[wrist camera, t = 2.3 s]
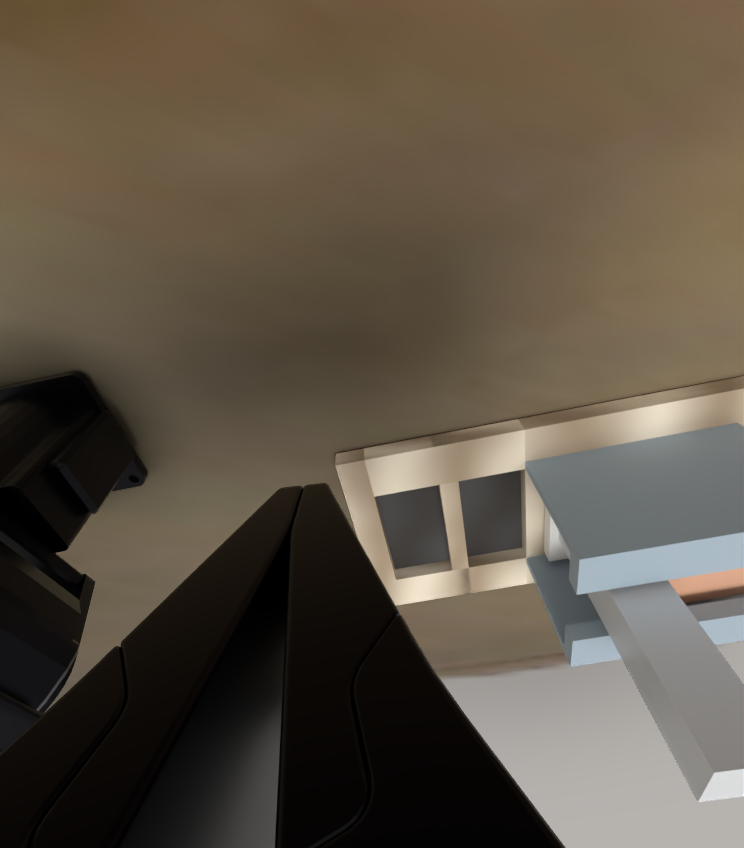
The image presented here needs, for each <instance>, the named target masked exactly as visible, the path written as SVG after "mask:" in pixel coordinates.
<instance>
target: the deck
mask: <svg viewBox="0 0 744 848" xmlns="http://www.w3.org/2000/svg"><path fill="white" fill-rule="evenodd" d="M733 423H739V424H740V425H742V426H743V427H744V376H741V377H736V378H731V379H725V380H720V381H715V382H710V383H704V384H699V385H694V386H689V387H683V388H678V389H673V390H668V391H662V392H657V393H652V394H647V395H641V396H636V397H631V398H626V399H620V400H615V401H610V402H605V403H600V404H594V405H589V406H584V407H579V408H573V409H568V410H563V411H558V412H552V413H547V414H542V415H537V416H531V417H526V418H521V419H516V420H510V421H505V422H500V423H495V424H489V425H484V426H479V427H474V428H468V429H463V430H458V431H453V432H447V433H442V434H437V435H432V436H426V437H421V438H416V439H411V440H406V441H400V442H395V443H390V444H385V445H379V446H374V447H369V448H364V449H358V450H353V451H348V452H343V453H337V454H336V458H335V467H336V470H337V473H338V476H339V479H340V483H341V486H342V489H343V492H344V495H345V498H346V502H347V505H348V508H349V511H350V514H351V518H352V521H353V524H354V527H355V530H356V534H357V537H358V539H359V541H360V543H361V545H362V547H363V548H364V550H365V552H366V554H367V556H368V557H369V559H370V561H371V563H372V564H373V566H374V568H375V570H376V572H377V573H378V575H379V577H380V579H381V581H382V582H383V584H384V586H385V588H386V590H387V591H388V593H389V595H390V597H391V598H392V600H393V602H394V604H395V606H396V605H402V604H408V603H414V602H420V601H426V600H432V599H438V598H444V597H450V596H456V595H462V594H468V593H474V592H481V591H487V590H493V589H499V588H505V587H511V586H517V585H523V584H529V583H535V582H534V580H533V577H532V575H531V573H530V570H529V568H528V565H527V558H529V557H535V556H541V555H546V554H545V552H544V519H545V504H544V503H543V501H542V499H541V497H540V495H539V493H538V492H537V490H536V488H535V486H534V484H533V482H532V480H531V479H530V477H529V475H528V473H527V471H526V469H525V462H526V461H531V460H537V459H542V458H548V457H553V456H559V455H564V454H569V453H575V452H580V451H586V450H591V449H597V448H602V447H607V446H613V445H618V444H624V443H629V442H635V441H640V440H646V439H651V438H656V437H662V436H667V435H673V434H678V433H684V432H689V431H694V430H700V429H705V428H711V427H716V426H722V425H727V424H733Z"/></svg>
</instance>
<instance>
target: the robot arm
mask: <svg viewBox="0 0 744 848" xmlns="http://www.w3.org/2000/svg"><path fill="white" fill-rule="evenodd" d="M72 380H74V381H76V382H77V383H78V384H79V385H80V386H77V385H75V384H74V383H73V381H72ZM133 475H135V476H137V477H138V478H136V477H134V476H133ZM146 478H147V473H146V471H145V469H144V468H143V466H142V464H141V463H140V461H139V460H138V458H137V456H136V455H135V452H134V450H133V449H132V447H131V445H130V444H129V442H128V441H127V439H126V437H125V436H124V434H123V433H122V431H121V429H120V428H119V426H118V424H117V423H116V421H115V420H114V418H113V416H112V415H111V414H110V413H109V411H108V409H107V408H106V406H105V405H104V403H103V401H102V400H101V398H100V397H99V395H98V393H97V392H96V390H95V388H94V387H93V385H92V384H91V382H90V380H89V379H88V378H87V377H86V376H85V375H84V374H82V373H80V372H77V371H74V372H68V373H63V374H58V375H54V376H49V377H44V378H39V379H35V380H30V381H25V382H21V383H16V384H11V385H6V386H2V387H0V848H565V846H564V845H563V844H562V843H561V841H560V840H559V839H558V837H557V836H556V835H555V833H554V832H553V831H552V829H551V828H550V827H549V825H548V824H547V823H546V821H545V820H544V819H543V817H542V816H541V815H540V813H539V812H538V811H537V809H536V808H535V807H534V805H533V804H532V803H531V801H530V800H529V799H528V797H527V796H526V795H525V793H524V792H523V791H522V790H521V788H520V787H519V785H518V784H517V783H516V781H515V780H514V779H513V778H512V776H511V775H510V774H509V772H508V771H507V770H506V768H505V767H504V766H503V764H502V763H501V762H500V760H499V759H498V758H497V756H496V755H495V754H494V752H493V751H492V750H491V748H490V747H489V746H488V744H487V743H486V742H485V741H484V739H483V738H482V736H481V735H480V734H479V732H478V731H477V730H476V728H475V727H474V726H473V725H472V723H471V722H470V721H469V719H468V718H467V717H466V715H465V714H464V712H463V711H462V710H461V708H460V707H459V705H458V704H457V702H456V701H455V700H454V698H453V697H452V695H451V694H450V692H449V691H448V690H447V688H446V687H445V685H444V684H443V683H442V681H441V680H440V678H439V677H438V675H437V674H436V672H435V671H434V669H433V668H432V666H431V664H430V663H429V661H428V659H427V658H426V656H425V654H424V653H423V651H422V650H421V648H420V646H419V645H418V643H417V641H416V640H415V638H414V636H413V635H412V633H411V631H410V629H409V627H408V626H407V624H406V622H405V620H404V619H403V617H402V616H401V615H400V613H399V611H398V609H397V607H396V606H395V604H394V602H393V600H392V598H391V597H390V595H389V593H388V591H387V590H386V588H385V586H384V584H383V582H382V581H381V579H380V577H379V575H378V573H377V572H376V570H375V568H374V566H373V564H372V563H371V561H370V559H369V557H368V556H367V554H366V552H365V550H364V548H363V547H362V545H361V543H360V541H359V539H358V538H357V536H356V534H355V532H354V531H353V529H352V527H351V525H350V523H349V522H348V520H347V518H346V516H345V514H344V513H343V511H342V509H341V507H340V505H339V504H338V502H337V500H336V498H335V497H334V495H333V493H332V491H331V489H330V488H329V486H328V485H327V484H326V483H320V484H311V485H306V486H305V487H304V488H303V487H301V486H293V487H284V488H280V489H279V490H277V491H276V492H275V493H274V494H273V495H272V496H271V497H270V498H269V499H268V500H267V501H266V502H265V503H264V504H263V505H262V506H261V507H260V508H259V509H258V510H257V511H256V512H255V513H254V514H253V515H252V516H251V517H250V518H249V519H248V520H246V521H245V522H244V523H243V524H242V525H241V526H240V527H239V528H238V529H237V530H236V531H235V532H234V533H233V534H232V535H231V536H230V537H229V538H228V539H227V540H226V541H225V542H224V543H223V544H222V545H221V546H220V547H219V548H218V549H217V550H216V551H215V552H213V553H212V554H211V555H210V556H209V557H208V558H207V559H206V560H205V561H204V562H203V563H202V564H201V565H200V566H199V567H198V568H197V569H196V570H195V571H194V572H193V573H192V574H191V575H190V576H189V577H188V578H187V579H186V580H185V581H184V582H183V583H182V584H180V585H179V586H178V587H177V588H176V589H175V590H174V591H173V592H172V593H171V594H170V595H169V596H168V597H167V598H166V599H165V600H164V601H163V602H162V603H161V604H160V605H159V606H158V607H157V608H156V609H155V610H154V611H153V612H152V613H151V614H150V615H149V616H148V617H146V618H145V619H144V620H143V621H142V622H141V623H140V624H139V625H138V626H137V627H136V628H135V629H134V630H133V631H132V632H131V633H130V634H129V635H128V636H127V637H126V638H125V639H124V640H123V641H122V642H121V647H119V646H116V647H114V648H113V649H112V650H111V651H110V652H109V653H108V654H107V655H106V656H105V657H104V658H103V659H102V660H101V661H100V662H99V663H98V664H97V665H96V666H95V667H93V668H92V669H91V670H90V671H89V672H88V673H87V674H86V675H85V676H84V677H83V678H82V679H81V680H80V681H79V682H78V683H77V684H75V685H74V686H73V687H72V688H71V689H70V690H69V691H68V692H67V693H66V694H65V695H64V696H63V697H62V698H60V699H59V700H58V701H57V702H56V703H55V704H54V705H53V706H52V707H51V708H50V709H49V710H48V711H47V712H45V711H46V710H47V708H48V707H49V706H50V705H51V704H52V702H53V701H54V700H55V698H56V697H57V695H58V694H59V693H60V691H61V690H62V688H63V687H64V685H65V683H66V681H67V679H68V677H69V676H70V674H71V672H72V669H73V666H74V663H75V660H76V657H77V654H78V649H79V645H80V641H81V637H82V633H83V629H84V625H85V621H86V617H87V613H88V609H89V605H90V601H91V597H92V593H93V589H94V585H95V581H94V580H92V579H91V578H90V577H89V576H87V575H86V574H81V573H80V572H78V571H77V570H76V569H75V568H73V567H72V566H71V565H70V564H68V563H67V562H66V561H65V560H63V559H62V558H61V557H60V556H58V555H57V554H56V552H61V551H65V550H67V549H68V548H69V546H70V545H71V543H72V542H73V540H74V539H75V537H76V536H77V534H78V533H79V532H80V530H81V529H82V527H83V526H84V524H85V523H86V521H87V520H88V518H89V517H90V516H91V514H94V513H96V512H98V510H99V509H100V507H101V506H102V504H103V503H104V501H105V500H106V498H107V497H108V495H109V494H110V492H111V491H116V490H121V489H127V488H132V487H137V486H141V485H142V484H143V483H144V482H145V480H146ZM44 712H45V713H44ZM43 713H44V714H43Z"/></svg>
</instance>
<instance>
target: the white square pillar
mask: <svg viewBox="0 0 744 848" xmlns="http://www.w3.org/2000/svg"><path fill="white" fill-rule="evenodd" d="M544 552H545V554H546V556H547V558H548V560H549V562H550V561H556V560H562V559H568V558H569V560H570V551H569V549H568V547H567V545H566V543H565V541H564V539H563V538H562V536H561V534H560V532H559V530H558V528H557V527H556V525H555V523H554V521H553V519H552V517H551V515H550V514H549V512H548V510H547V508H546V506H545V519H544ZM587 594H588V596H589V598H590V600H591V601H592V603H593V605H594V607H595V609H596V611H597V613H598V615H599V617H600V618H601V620H602V622H603V624H604V626H605V628H606V630H607V632H608V634H609V635H610V637H611V639H612V641H613V643H614V645H615V647H616V649H617V651H618V652H619V654H620V656H621V658H622V660H623V662H624V664H625V666H626V668H627V669H628V671H629V673H630V675H631V677H632V679H633V681H634V683H635V684H636V686H637V688H638V690H639V692H640V694H641V696H642V698H643V699H644V701H645V703H646V705H647V707H648V709H649V711H650V713H651V715H652V716H653V718H654V720H655V722H656V724H657V726H658V728H659V730H660V732H661V733H662V735H663V737H664V739H665V741H666V743H667V745H668V747H669V749H670V751H671V752H672V754H673V756H674V758H675V760H676V762H677V764H678V765H679V768H680V769H681V771H682V773H683V775H684V777H685V779H686V781H687V783H688V784H689V786H690V788H691V790H692V792H693V794H694V796H695V798H696V799H697V801H698V802H703V801H712V800H719V799H727V798H735V797H743V796H744V684H743V683H742V681H741V680H740V679H739V677H738V676H737V674H736V673H735V672H734V670H733V669H732V668H731V666H730V665H729V664H728V662H727V661H726V659H725V658H724V657H723V655H722V654H721V652H720V651H719V650H718V648H717V647H716V646H715V644H714V643H713V641H712V640H711V639H710V637H709V636H708V635H707V633H706V632H705V631H704V629H703V628H702V626H701V625H700V624H699V622H698V621H697V620H696V618H695V617H694V615H693V614H692V613H691V611H690V610H689V609H688V607H687V606H686V604H685V603H689V602H695V601H701V600H708V599H714V598H720V597H726V596H733V595H739V594H744V568H740V569H733V570H727V571H721V572H715V573H709V574H703V575H696V576H690V577H684V578H678V579H672V580H666V581H659V582H653V583H647V584H641V585H635V586H629V587H622V588H616V589H610V590H604V591H598V592H592V593H587Z"/></svg>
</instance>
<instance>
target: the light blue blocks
mask: <svg viewBox="0 0 744 848" xmlns="http://www.w3.org/2000/svg"><path fill="white" fill-rule="evenodd" d="M525 469H526V471H527V473H528V475H529V477H530V479H531V480H532V482H533V484H534V486H535V488H536V490H537V492H538V493H539V495H540V497H541V499H542V501H543V503H544V504H545V506H546V508H547V510H548V512H549V514H550V515H551V517H552V519H553V521H554V523H555V525H556V527H557V528H558V530H559V532H560V534H561V536H562V538H563V539H564V541H565V543H566V545H567V547H568V549H569V551H570V560H569V558H568V559H562V560H556V561H550V562H549V560H548V558H547V556H546V555H541V556H535V557H529V558H527V565H528V568H529V570H530V573H531V575H532V577H533V580H534V582H535V584H536V587H537V589H538V591H539V594H540V596H541V599H542V601H543V603H544V606H545V608H546V610H547V613H548V615H549V617H550V620H551V622H552V624H553V627H554V629H555V632H556V634H557V636H558V639H559V641H560V643H561V646H562V648H563V650H564V653H565V655H566V657H567V660H568V662H569V665H570V667H573V666H579V665H586V664H593V663H599V662H606V661H613V660H619V659H622V658H621V656H620V654H619V652H618V651H617V649H616V647H615V645H614V643H613V641H612V639H611V637H610V635H609V634H608V632H607V630H606V628H605V626H604V624H603V622H602V620H601V618H600V617H599V615H598V613H597V611H596V609H595V607H594V605H593V603H592V601H591V600H590V598H589V596H588V594H587V593H592V592H598V591H604V590H610V589H616V588H622V587H629V586H635V585H641V584H647V583H653V582H659V581H666V580H672V579H678V578H684V577H690V576H696V575H703V574H709V573H715V572H721V571H727V570H733V569H740V568H744V427H743V426H742V425H740V424H739V423H733V424H727V425H722V426H716V427H711V428H705V429H700V430H694V431H689V432H684V433H678V434H673V435H667V436H662V437H656V438H651V439H646V440H640V441H635V442H629V443H624V444H618V445H613V446H607V447H602V448H597V449H591V450H586V451H580V452H575V453H569V454H564V455H559V456H553V457H548V458H542V459H537V460H531V461H526V462H525ZM685 604H686V606H687V607H688V609H689V610H690V611H691V613H692V614H693V615H694V617H695V618H696V620H697V621H698V622H699V624H700V625H701V626H702V628H703V629H704V631H705V632H706V633H707V635H708V636H709V637H710V639H711V640H712V641H713V643H714V644H715V645H718V644H725V643H732V642H738V641H744V594H739V595H733V596H726V597H720V598H714V599H708V600H701V601H695V602H689V603H685Z"/></svg>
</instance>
